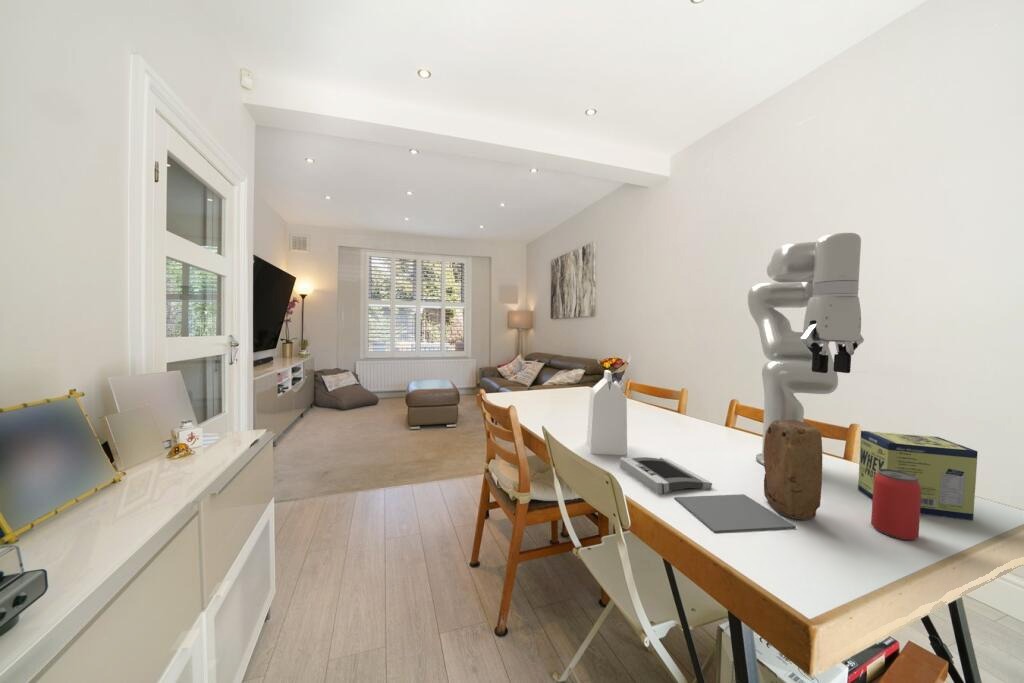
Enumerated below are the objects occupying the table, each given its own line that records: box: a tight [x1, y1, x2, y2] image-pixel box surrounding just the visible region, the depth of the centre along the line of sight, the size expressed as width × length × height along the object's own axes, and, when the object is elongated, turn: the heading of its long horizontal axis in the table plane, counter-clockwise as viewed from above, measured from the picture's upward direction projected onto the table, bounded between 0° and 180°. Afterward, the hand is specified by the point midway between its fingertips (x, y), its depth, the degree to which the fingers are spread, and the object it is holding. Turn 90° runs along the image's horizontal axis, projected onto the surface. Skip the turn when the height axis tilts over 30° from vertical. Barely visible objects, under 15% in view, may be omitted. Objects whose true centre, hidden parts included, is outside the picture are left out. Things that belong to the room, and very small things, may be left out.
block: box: [763, 420, 823, 521], centre depth 80 cm, size 11×8×20 cm
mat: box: [674, 493, 797, 533], centre depth 79 cm, size 18×14×1 cm
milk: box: [586, 369, 628, 456], centre depth 120 cm, size 12×12×26 cm
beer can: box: [870, 469, 922, 541], centre depth 72 cm, size 7×7×12 cm
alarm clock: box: [619, 456, 713, 495], centre depth 97 cm, size 17×5×16 cm
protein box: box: [857, 430, 979, 521], centre depth 84 cm, size 10×16×16 cm
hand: (830, 371), depth 80 cm, fingers open, 4 cm apart
